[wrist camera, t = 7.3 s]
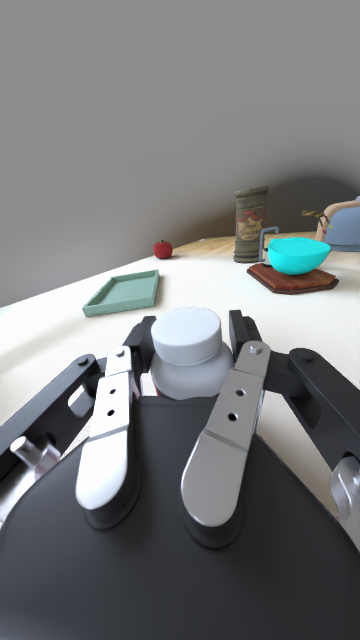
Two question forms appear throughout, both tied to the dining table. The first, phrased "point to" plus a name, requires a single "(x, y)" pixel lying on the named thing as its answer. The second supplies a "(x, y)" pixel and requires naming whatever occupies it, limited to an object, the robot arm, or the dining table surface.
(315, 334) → the dining table surface
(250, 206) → the container
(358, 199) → the alarm clock
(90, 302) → the tray
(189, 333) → the pill bottle
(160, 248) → the tomato
